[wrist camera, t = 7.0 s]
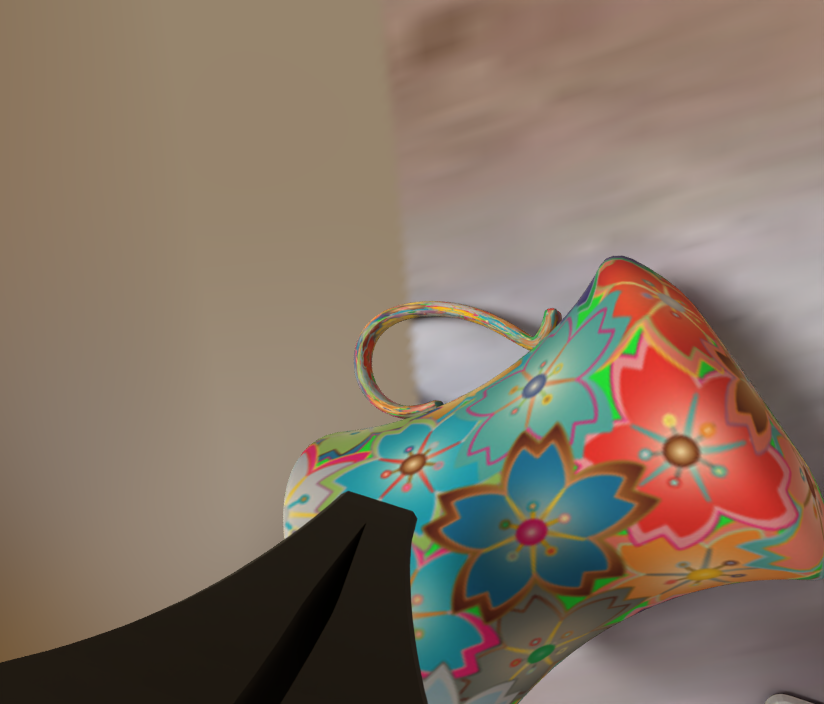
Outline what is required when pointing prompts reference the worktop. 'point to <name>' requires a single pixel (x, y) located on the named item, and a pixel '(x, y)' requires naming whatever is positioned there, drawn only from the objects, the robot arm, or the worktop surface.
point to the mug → (572, 483)
